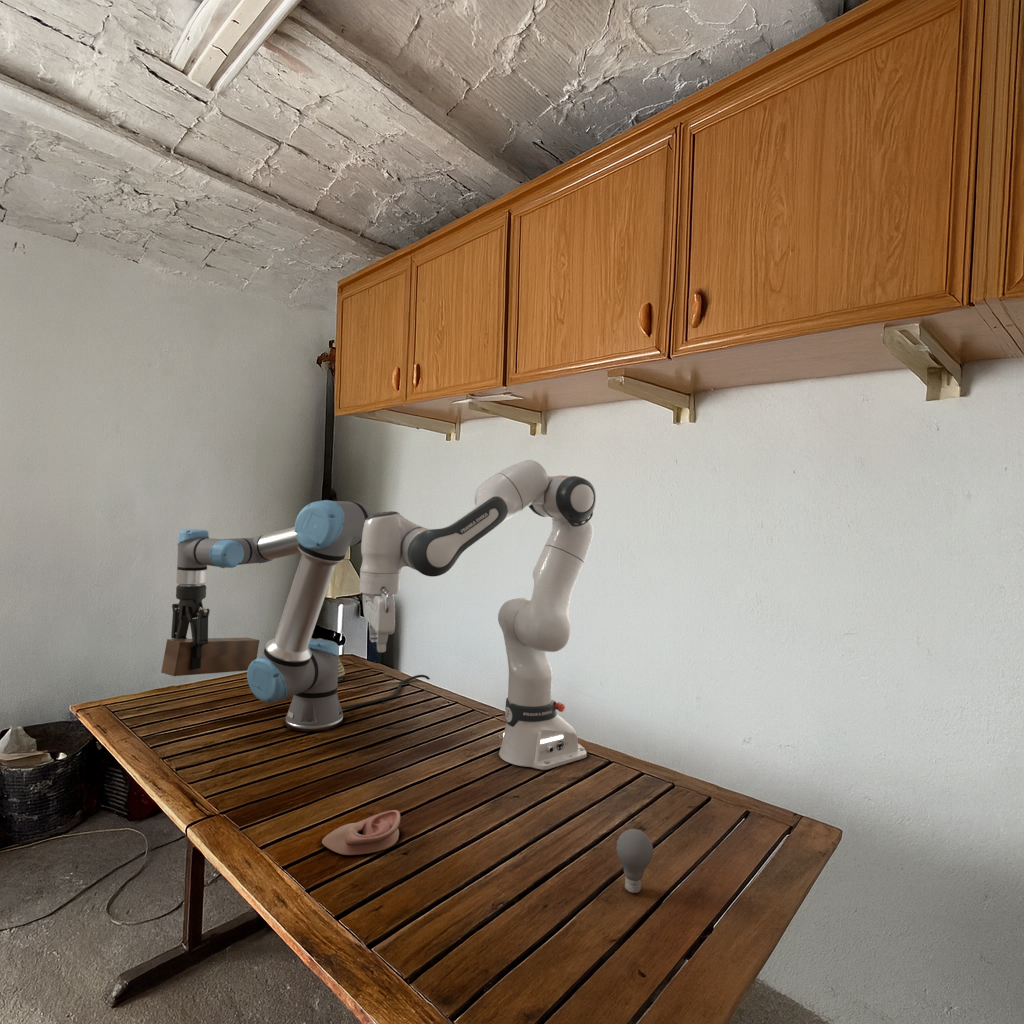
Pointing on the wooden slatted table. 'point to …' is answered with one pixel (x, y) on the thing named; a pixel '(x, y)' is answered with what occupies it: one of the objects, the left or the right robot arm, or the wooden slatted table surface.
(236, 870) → the wooden slatted table surface
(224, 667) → the bar
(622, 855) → the light bulb
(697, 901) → the wooden slatted table surface
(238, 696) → the wooden slatted table surface
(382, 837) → the anatomical model
